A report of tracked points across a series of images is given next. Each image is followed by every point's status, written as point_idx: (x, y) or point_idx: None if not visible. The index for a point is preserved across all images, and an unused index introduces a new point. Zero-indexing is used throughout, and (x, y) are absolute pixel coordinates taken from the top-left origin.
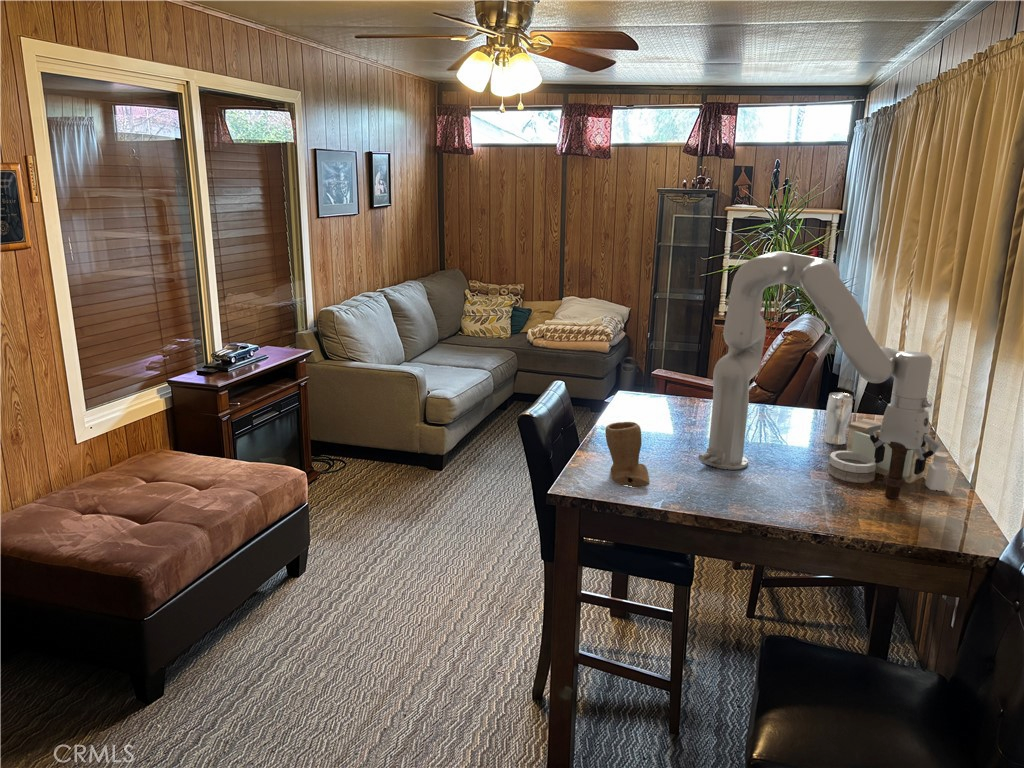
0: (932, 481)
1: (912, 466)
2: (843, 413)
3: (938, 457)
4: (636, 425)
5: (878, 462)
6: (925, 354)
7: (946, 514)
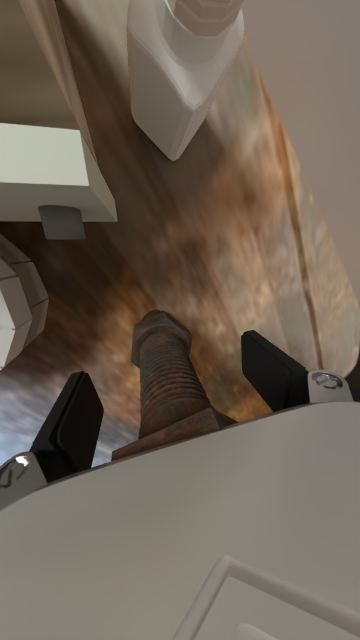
0: (181, 145)
1: (76, 121)
2: None
3: None
4: None
5: (101, 406)
6: None
7: (271, 292)
